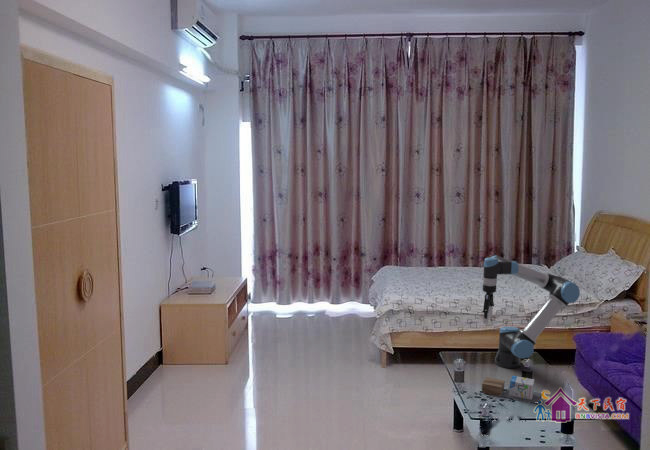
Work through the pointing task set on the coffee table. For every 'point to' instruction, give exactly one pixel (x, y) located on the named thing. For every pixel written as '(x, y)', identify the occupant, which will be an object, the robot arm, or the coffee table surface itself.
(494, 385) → the walnut step
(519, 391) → the ink box
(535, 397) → the mat
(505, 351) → the robot arm
